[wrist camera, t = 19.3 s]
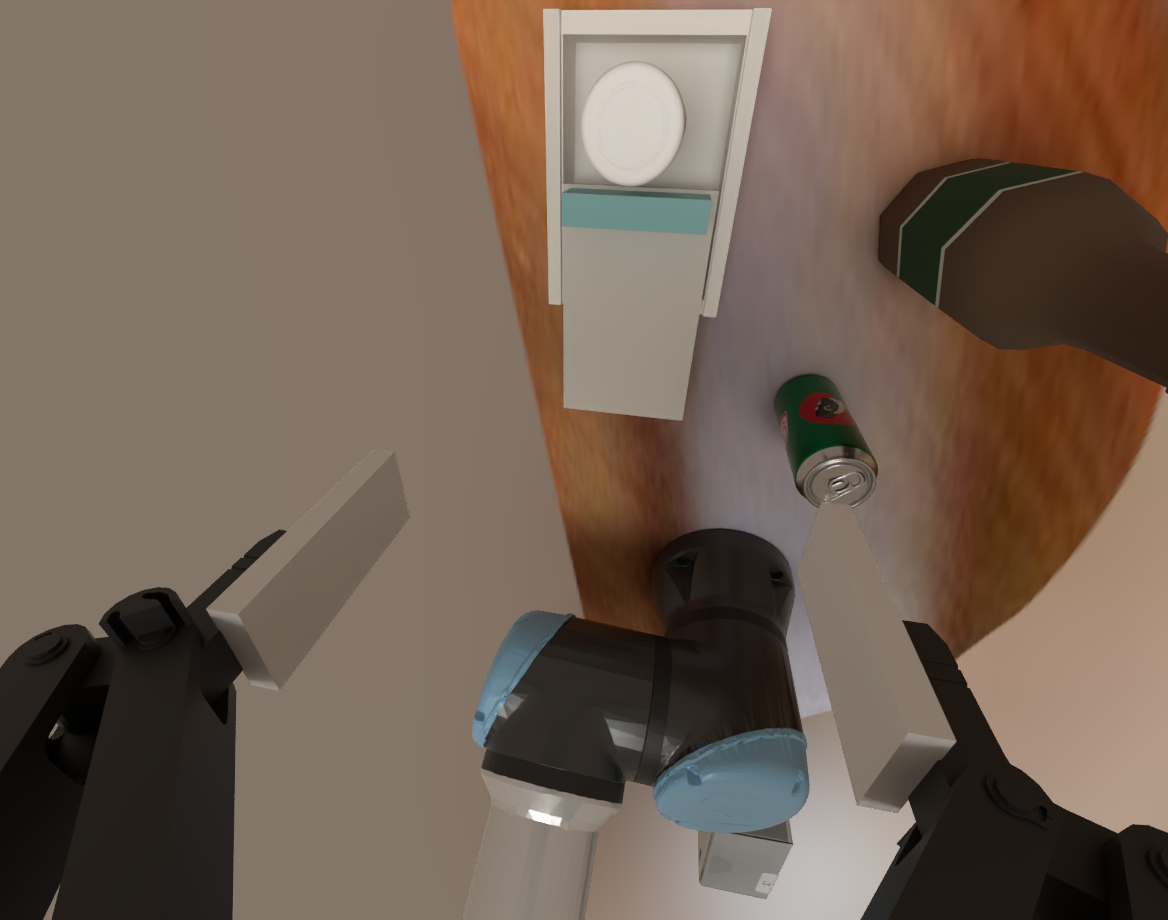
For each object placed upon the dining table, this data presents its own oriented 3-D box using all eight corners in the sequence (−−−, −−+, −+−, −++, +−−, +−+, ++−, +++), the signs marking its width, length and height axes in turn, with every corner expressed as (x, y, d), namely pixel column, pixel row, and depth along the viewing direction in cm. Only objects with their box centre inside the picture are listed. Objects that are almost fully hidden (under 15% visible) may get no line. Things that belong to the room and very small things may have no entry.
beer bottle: (852, 273, 35) (1044, 459, 16) (906, 147, 31) (1268, 193, 11) (963, 292, 35) (1302, 509, 15) (1035, 166, 30) (1647, 249, 11)
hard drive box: (749, 722, 70) (766, 901, 54) (695, 713, 72) (695, 886, 55) (768, 658, 61) (794, 849, 45) (705, 650, 63) (710, 832, 47)
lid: (682, 415, 39) (681, 438, 36) (565, 403, 40) (556, 423, 38) (718, 189, 30) (721, 196, 27) (565, 182, 31) (553, 188, 29)
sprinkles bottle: (604, 110, 32) (559, 106, 21) (668, 62, 30) (653, 29, 19) (638, 179, 34) (611, 208, 23) (699, 138, 32) (702, 147, 21)
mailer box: (713, 296, 38) (716, 317, 34) (563, 285, 40) (548, 304, 36) (761, 23, 29) (772, 8, 25) (562, 23, 30) (543, 9, 26)
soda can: (762, 392, 42) (783, 474, 32) (822, 361, 39) (864, 440, 30) (789, 435, 43) (817, 525, 34) (848, 408, 41) (895, 497, 31)
